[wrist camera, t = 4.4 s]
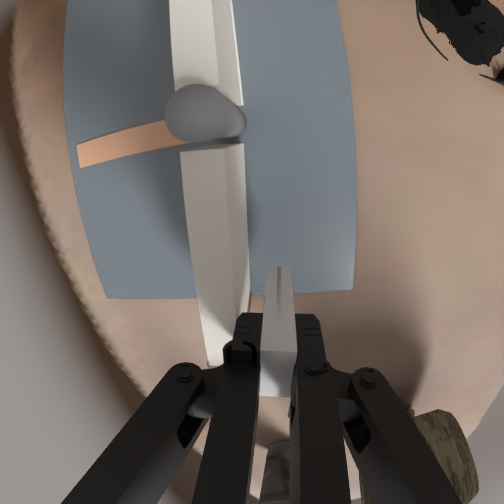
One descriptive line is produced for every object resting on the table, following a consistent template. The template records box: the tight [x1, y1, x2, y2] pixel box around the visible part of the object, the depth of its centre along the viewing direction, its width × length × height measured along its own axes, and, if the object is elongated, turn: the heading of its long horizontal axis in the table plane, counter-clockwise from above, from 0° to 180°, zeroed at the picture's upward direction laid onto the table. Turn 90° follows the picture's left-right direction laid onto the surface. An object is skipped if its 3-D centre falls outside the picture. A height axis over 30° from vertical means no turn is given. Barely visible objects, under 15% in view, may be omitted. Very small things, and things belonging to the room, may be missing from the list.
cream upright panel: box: [180, 143, 252, 369], centre depth 15 cm, size 11×2×7 cm, turn 2°
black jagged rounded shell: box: [416, 0, 504, 85], centre depth 8 cm, size 12×10×5 cm
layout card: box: [63, 0, 357, 299], centre depth 15 cm, size 28×20×1 cm
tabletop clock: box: [359, 409, 479, 504], centre depth 15 cm, size 14×9×25 cm, turn 9°
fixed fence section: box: [164, 0, 247, 143], centre depth 9 cm, size 16×2×9 cm, turn 6°
